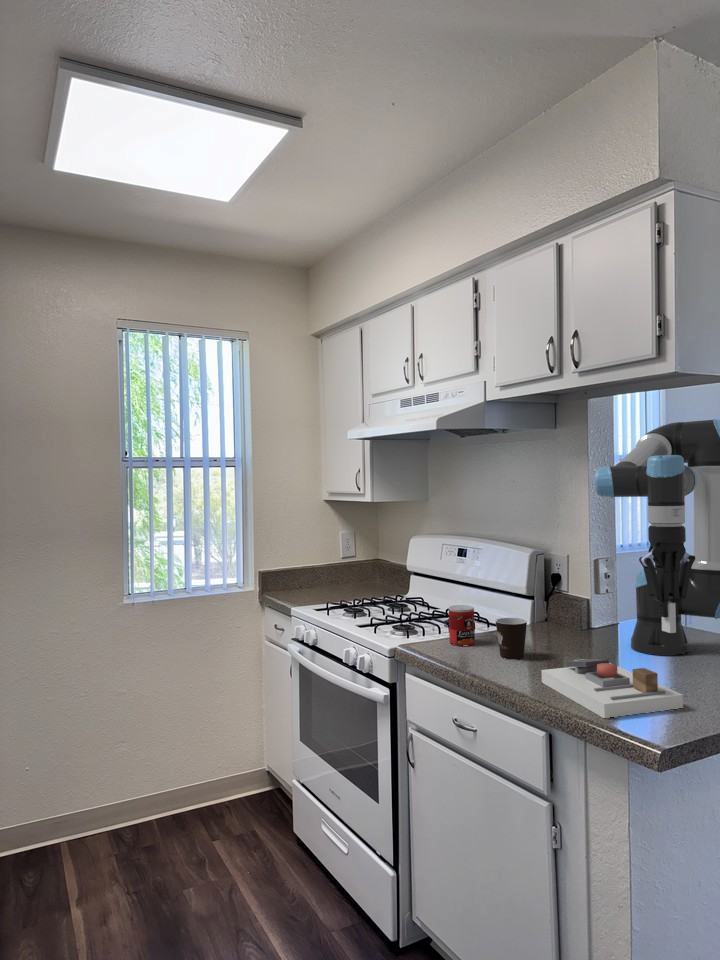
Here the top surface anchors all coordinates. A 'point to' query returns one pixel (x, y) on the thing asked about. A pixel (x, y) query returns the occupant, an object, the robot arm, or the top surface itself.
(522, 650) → the coffee mug
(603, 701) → the panel
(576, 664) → the tall dark grey panel
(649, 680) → the slider knob
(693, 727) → the top surface
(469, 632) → the canned food
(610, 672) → the red button
